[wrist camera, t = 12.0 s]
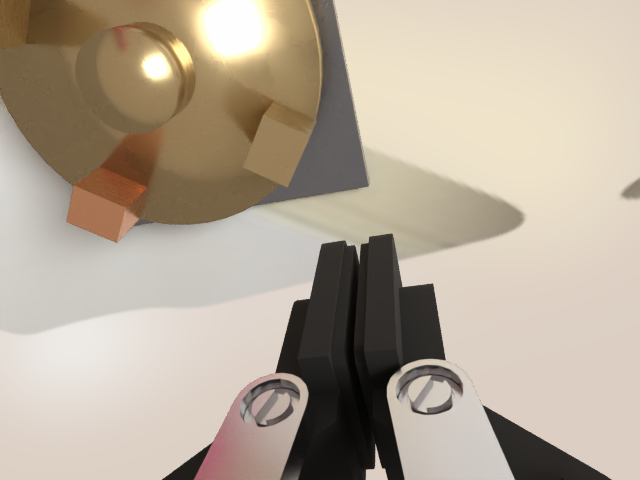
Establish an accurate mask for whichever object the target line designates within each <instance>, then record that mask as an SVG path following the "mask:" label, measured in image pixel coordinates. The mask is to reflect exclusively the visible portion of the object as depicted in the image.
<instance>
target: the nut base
mask: <svg viewBox="0 0 640 480" xmlns="http://www.w3.org/2000/svg"><path fill="white" fill-rule="evenodd" d="M310 1H311V3H312V7H313V10H314V14H315V17H316V20H317V24H318V27H319V34H320V40H321V46H322V56H323V82H322V93H321V100H320V104H319V109H318V113H317V117H316V120H317V121H316V124H315V126H314V129H313V131H312V134H311V136H310V138H309V141H308V143H307V145H306V147H305V149H304V152H303V154H302V156H301V158H300V161H299V163H298V165H297V167H296V170H295V172H294V174H293V176H292V179H291V181H290V183H289V185H288V187H285V186H283V185H281V184H279V185H278V186H277V187H276V188H275V189H274V190H273V191H272V192H271V193H270V194H268V195H267V196H266V197H264V198H263V199H262V200H260V201H259V202H258V203H256V204H254V205H253V206H255V205H261V204H267V203H273V202H279V201H285V200H290V199H296V198H302V197H308V196H314V195H320V194H326V193H332V192H338V191H344V190H350V189H356V188H362V187H368V186H369V178H368V173H367V168H366V163H365V158H364V152H363V147H362V142H361V137H360V132H359V127H358V121H357V116H356V111H355V106H354V101H353V96H352V91H351V85H350V80H349V75H348V69H347V64H346V59H345V54H344V49H343V44H342V38H341V34H340V28H339V23H338V18H337V13H336V8H335V3H334V0H310ZM148 223H154V222H151V221H147V220H143V219H139V220H138V221H137V222H136V223H135V224H134V225H133V226H136V225H142V224H148Z"/></svg>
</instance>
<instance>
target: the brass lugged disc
mask: <svg viewBox="0 0 640 480" xmlns="http://www.w3.org/2000/svg"><path fill="white" fill-rule="evenodd" d="M322 82H323V56H322V46H321V40H320V34H319V27H318V24H317V20H316V17H315V14H314V10H313V7H312V3H311V1H310V0H0V94H1V96H2V99H3V101H4V103H5V105H6V107H7V109H8V111H9V112H10V114H11V116H12V117H13V119H14V121H15V123H16V124H17V126H18V128H19V129H20V130H21V132H22V133H23V135H24V136H25V137H26V139H27V140H28V141H29V143H30V144H31V145H32V147H33V148H34V149H35V150H36V151H37V152H38V154H39V155H40V156H41V157H42V158H43V159H44V160H45V161H46V162H47V164H49V165H50V166H51V167H52V168H53V169H54V170H55V171H56V172H57V173H58V174H59V175H60V176H61V177H63V178H64V179H65V180H66V181H68V182H69V183H70V184H72V185H73V191H72V197H71V202H70V207H69V212H68V217H67V222H68V223H70V224H73V225H75V226H78V227H80V228H82V229H85V230H87V231H90V232H92V233H94V234H97V235H99V236H102V237H104V238H106V239H109V240H111V241H113V242H116V243H117V242H118V241H119V240H120V239H121V238H122V237H123V236H124V235H125V234H126V233H127V232H128V231H129V229H130V228H131V227H132V226H133V225H134V224H135V223H136V222H137V221H138V220H139V219H143V220H147V221H151V222H157V223H165V224H188V225H190V224H199V223H208V222H212V221H216V220H220V219H224V218H227V217H229V216H232V215H235V214H237V213H240V212H242V211H244V210H246V209H247V208H249V207H251V206H253V205H254V204H256V203H258V202H259V201H260V200H262V199H263V198H264V197H266V196H267V195H268V194H270V193H271V192H272V191H273V190H274V189H275V188H276V187H277V186H278V185H279V184H281V185H283V186H285V187H288V185H289V183H290V181H291V179H292V176H293V174H294V172H295V170H296V167H297V165H298V163H299V161H300V158H301V156H302V154H303V152H304V149H305V147H306V145H307V143H308V141H309V138H310V136H311V134H312V131H313V129H314V126H315V124H316V121H317V120H316V117H317V113H318V109H319V104H320V100H321V93H322Z"/></svg>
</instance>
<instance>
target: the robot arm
mask: <svg viewBox="0 0 640 480" xmlns="http://www.w3.org/2000/svg"><path fill="white" fill-rule="evenodd" d="M375 443H376V447H377V451H378V455H379V459H380V463H381V466H382V468H385V470H386V474H387V478H388V480H611V479H609V478H608V477H607V476H605V475H604V474H602V473H600V472H598V471H597V470H595V469H593V468H591V467H590V466H588V465H586V464H585V463H583V462H581V461H579V460H578V459H576V458H574V457H572V456H571V455H569V454H567V453H565V452H563V451H562V450H560V449H558V448H557V447H555V446H553V445H551V444H550V443H548V442H546V441H544V440H543V439H541V438H539V437H537V436H536V435H534V434H532V433H531V432H529V431H527V430H525V429H523V428H522V427H520V426H518V425H517V424H515V423H513V422H511V421H510V420H508V419H506V418H504V417H503V416H501V415H499V414H497V413H496V412H493V411H492V410H490V409H489V408H487V407H485V406H483V405H482V404H481V401H480V399H479V397H478V395H477V392H476V390H475V388H474V385H473V383H472V381H471V379H470V378H469V376H468V375H467V373H466V372H465V371H464V370H462V369H461V368H460V367H459V366H457V365H456V364H453V363H450V362H448V361H446V359H445V354H444V347H443V341H442V335H441V329H440V323H439V317H438V311H437V305H436V298H435V293H434V286H433V284H426V285H417V286H409V287H402V282H401V277H400V271H399V265H398V260H397V254H396V249H395V243H394V238H393V234H386V235H379V236H372V237H369V243H366V244H361V251H360V265H359V260H358V256H357V251H356V248H355V245H352V246H347V244H346V242H345V241H338V242H331V243H325V244H322V245H321V249H320V254H319V259H318V264H317V268H316V273H315V278H314V282H313V287H312V292H311V296H310V299H306V300H297V301H295V302H294V304H293V308H292V311H291V315H290V319H289V323H288V326H287V331H286V334H285V338H284V342H283V346H282V350H281V353H280V357H279V361H278V365H277V369H276V373H275V374H270V375H267V376H264V377H261V378H259V379H257V380H255V381H253V382H252V383H250V384H249V385H247V386H246V387H245V388H244V389H243V390H242V391H241V392H240V393H239V395H238V396H237V397H236V399H235V400H234V402H233V404H232V406H231V408H230V410H229V412H228V414H227V416H226V418H225V420H224V422H223V424H222V426H221V428H220V430H219V432H218V434H217V435H216V437H215V439H214V441H213V442H212V443H211V444H210V445H209V446H207V447H206V448H204V449H203V450H202V451H200V452H199V453H198V454H196V455H195V456H194V457H192V458H191V459H189V460H188V461H187V462H185V463H184V464H183V465H181V466H180V467H179V468H177V469H176V470H174V471H173V472H172V473H171V474H169V475H168V476H166V477H165V478H164V479H162V480H365V479H366V469H374V468H375Z"/></svg>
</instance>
